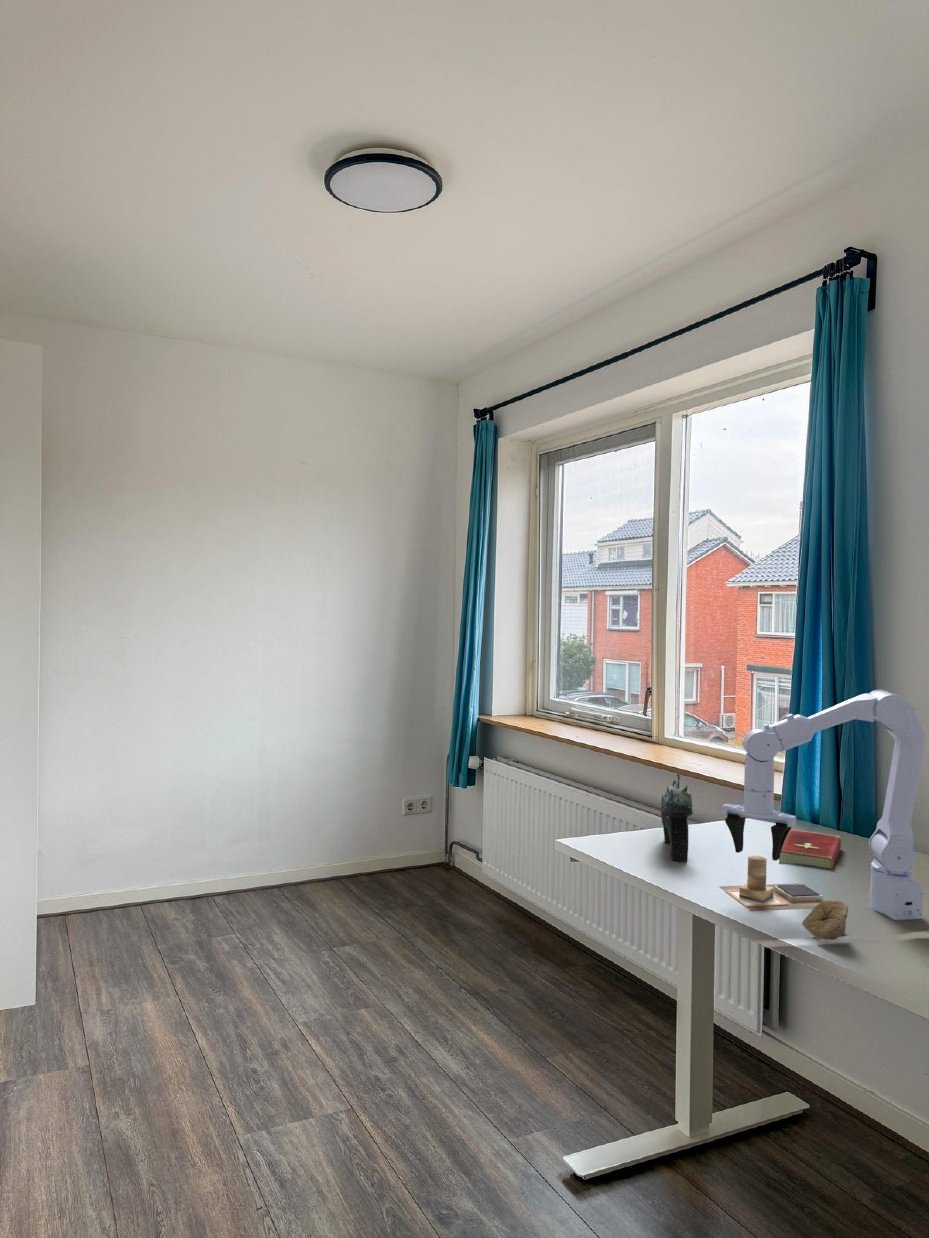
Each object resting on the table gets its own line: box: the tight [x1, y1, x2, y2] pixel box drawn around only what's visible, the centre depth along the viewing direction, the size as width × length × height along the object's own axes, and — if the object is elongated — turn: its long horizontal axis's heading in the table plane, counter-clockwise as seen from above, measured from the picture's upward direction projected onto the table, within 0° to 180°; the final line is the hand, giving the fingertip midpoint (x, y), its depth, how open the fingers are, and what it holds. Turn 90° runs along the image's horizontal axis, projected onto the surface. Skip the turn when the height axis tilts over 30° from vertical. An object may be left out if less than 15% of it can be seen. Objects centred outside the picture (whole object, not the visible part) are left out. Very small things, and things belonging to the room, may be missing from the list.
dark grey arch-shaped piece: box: [660, 771, 694, 863], centre depth 210 cm, size 20×6×20 cm, turn 173°
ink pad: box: [774, 883, 824, 902], centre depth 177 cm, size 7×7×1 cm
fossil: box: [801, 899, 849, 940], centre depth 159 cm, size 9×4×10 cm
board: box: [718, 883, 826, 912], centre depth 177 cm, size 14×18×1 cm
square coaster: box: [724, 890, 788, 908], centre depth 176 cm, size 9×9×1 cm
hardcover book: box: [778, 828, 842, 870], centre depth 207 cm, size 12×21×4 cm, turn 152°
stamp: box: [739, 855, 774, 903], centre depth 176 cm, size 5×5×8 cm
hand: (757, 855), depth 175 cm, fingers open, 7 cm apart
